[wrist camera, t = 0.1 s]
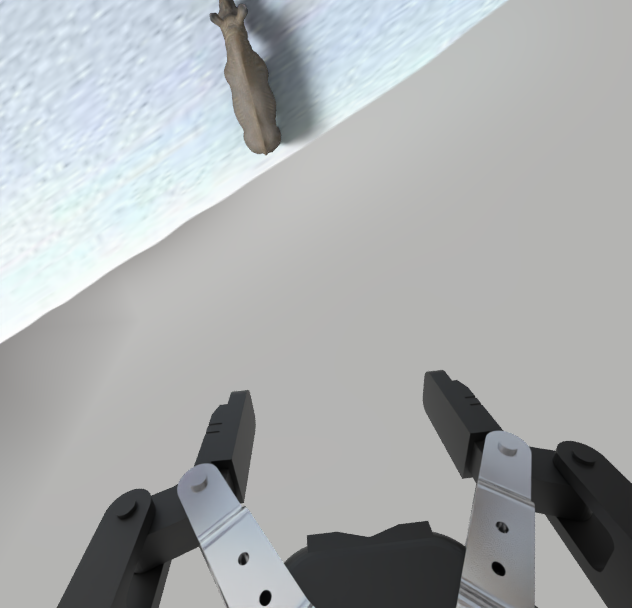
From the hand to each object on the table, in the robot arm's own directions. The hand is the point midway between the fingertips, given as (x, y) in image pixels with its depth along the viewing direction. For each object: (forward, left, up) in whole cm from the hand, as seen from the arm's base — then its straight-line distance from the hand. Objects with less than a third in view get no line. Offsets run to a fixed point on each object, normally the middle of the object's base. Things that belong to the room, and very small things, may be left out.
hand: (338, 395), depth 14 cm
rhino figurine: (-9, +2, -32) cm, 33 cm away
